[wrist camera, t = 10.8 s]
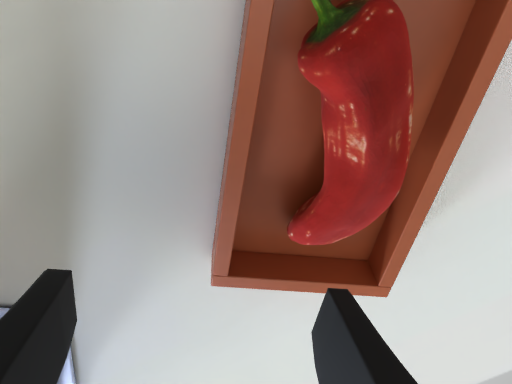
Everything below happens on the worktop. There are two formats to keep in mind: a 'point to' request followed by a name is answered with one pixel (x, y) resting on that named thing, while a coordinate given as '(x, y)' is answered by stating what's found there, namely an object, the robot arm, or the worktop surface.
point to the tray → (312, 145)
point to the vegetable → (357, 115)
